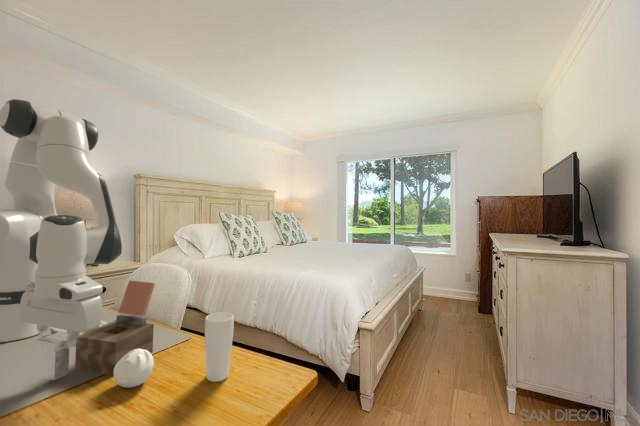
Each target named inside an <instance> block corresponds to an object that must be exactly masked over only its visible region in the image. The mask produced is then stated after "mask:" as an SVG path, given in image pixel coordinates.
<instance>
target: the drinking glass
mask: <svg viewBox="0 0 640 426" xmlns="http://www.w3.org/2000/svg"><path fill="white" fill-rule="evenodd" d="M234 323H235V317H234V313H231V312H228V311H227V312H226V311H218V312H213V313H210V314H208V315H206V316H205V322H204V347H205V363H206V365H205V367H206V368H205V369H206V372H205V376H206V377H205V378H206V379H207V380H208V381H209V382H212V383H218V382H223V381H225V380H227V378H229V375H230V366H231V364H230V363H231V355H232V350H233V349H232V346H233V339H234V330H235V329H234V327H235V324H234Z"/></svg>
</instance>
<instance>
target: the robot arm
mask: <svg viewBox="0 0 640 426" xmlns="http://www.w3.org/2000/svg"><path fill="white" fill-rule="evenodd" d="M0 128H1V129H2V130H3V132H5V133H6V134H8V135H11V136H13V137H16V138H17V141H16V143H15V145H14V148H13V150H12V153H11V156H10V161H9V165H8V169H7V172H6V173H7V174H6V178H5V182H4V185H5V188H6V189H5V190H7V191H8V192H9V193H10V194H11V196H12V199H13V200H12V201H13V208H0V343H5V342H13V341H17V340H23V339H26V338H30V337H35V336H37V335H39V336H40V339H41V338H44V337H47V336H50V335H52V334H53V333H52V331H51V328H54V329H59V330H64V331H65V330H66V332H67V334H69V335H68V337H67V339H66V340H63V347H64V348H69V349H72V348H74V347H76V338H77V337H78V335H80V333H81V334H83V333H86V332H89V331H91V330H94V329H96V328H98V327H100V326H101V324H102V318H103V317H102V315H103V302H102V301H103V300H102V298H101V296H100V294H102V293H103V290H104V288H103V285H102V284H100V283H99V282H97V281H95V280H93V279H92V278H91V277H90V276H88V275H86V273H87V269H86V266H85V265H87V264H93V265H109V264H111V263H113V262H114V261H116V260H117V259H118V258H119V257H121V255H122V252H123V244H124V243H123V238H122V236H121V234H120V230H119V227H118V225H117V221H116V217H115V213H114V208H113V204H112V201H111V197H110V196H111V195H110V192H109V190H108V186H107V183H106V179H105V178H104V176H103V175H102V174H100V173H99V172H97V171H96V170H95V169H94V167H93V166H92V164H91V162H90V152H91V151H92V150H93V149H95V147H96V145H97V143H98V141H99V130H98V128H97V126H96V125H95V124H94V123H92V122H91V121H89V120H87V119H85V118H82V119H81V118H80V117H78V116H76V115H73V114H70V113H68V112H66V111H62V110H60V109H55V108H51V107H47V106H45V105H44V106H43V105H41V104H37V103H31V102H30V101H27V100H23V99H18V98H17V99H14V98H13V99H9V100H8V101H6V102H5V103H4V104H3V106H2V107H1V108H0ZM56 186H58V187H60V188H64V189H67V190H69V191H72V192H76V193H77V194H79V195H82V196H84V197H85V198H87V199H88V200H89V201H90V202H91V204H92V206H93V210H94V215H95V216H94V217H95V220H96V225H97V226H96V227H86V222H85V220H84V219H83V218H81V217H79V216H73V215H66V214H58V213H57V210H56V204H55V190H56Z"/></svg>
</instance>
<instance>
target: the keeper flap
mask: <svg viewBox="0 0 640 426" xmlns="http://www.w3.org/2000/svg"><path fill="white" fill-rule="evenodd" d="M155 285H156V283H155V282H149V281H148V282H146V281H138V280H129V281H128V282H127V286H126V290H125V291H124V295H123V298H122V300H121V304H120V307H119V310H118V313H120V314H125V315H133V316H140V317H146V314H147V310H148V307H149V305H150V304H149V303H150V301H151V297H152V294H153V291H154V288H155Z"/></svg>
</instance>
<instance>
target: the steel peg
mask: <svg viewBox="0 0 640 426" xmlns="http://www.w3.org/2000/svg"><path fill="white" fill-rule="evenodd" d="M51 334H52V335H50V336H47V337H44V338H41V337H40V338H38V339H37V340H36V344H35V349H36V350H38V351H44V352H45V353H44V371H43V372H44V374H43V378H44V379H47V380H51V381H56V380H58V379H60V378H62V377H64V376H66V375H67V374H69V368H70V367H69V366H70V348H64V347H63V340H66V339H67V337H68V335H69V334H67V331H63V330H62V331H59V332H56V333H51ZM76 343H78V337H77V338H76Z"/></svg>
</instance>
